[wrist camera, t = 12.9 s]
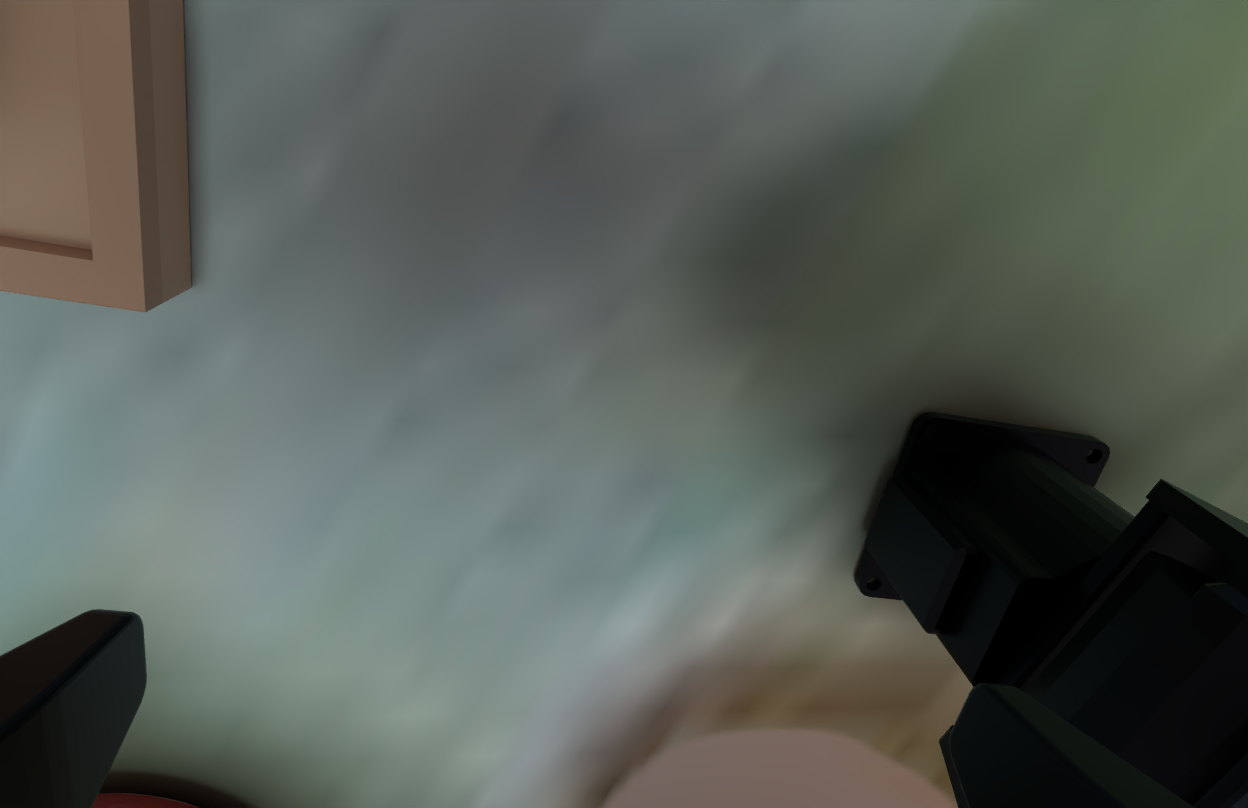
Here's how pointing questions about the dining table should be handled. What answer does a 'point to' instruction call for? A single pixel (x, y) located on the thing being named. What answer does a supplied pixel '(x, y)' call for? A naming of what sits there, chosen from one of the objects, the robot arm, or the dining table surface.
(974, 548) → the robot arm
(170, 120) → the stand
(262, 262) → the dining table surface
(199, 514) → the dining table surface
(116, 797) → the plant pot
